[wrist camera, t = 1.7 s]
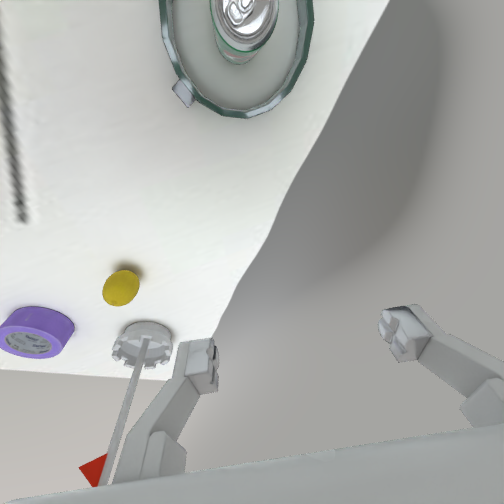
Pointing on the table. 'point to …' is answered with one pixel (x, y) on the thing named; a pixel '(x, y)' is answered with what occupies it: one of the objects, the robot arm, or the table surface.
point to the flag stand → (130, 384)
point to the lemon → (120, 288)
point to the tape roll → (35, 332)
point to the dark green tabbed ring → (191, 93)
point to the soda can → (243, 26)
